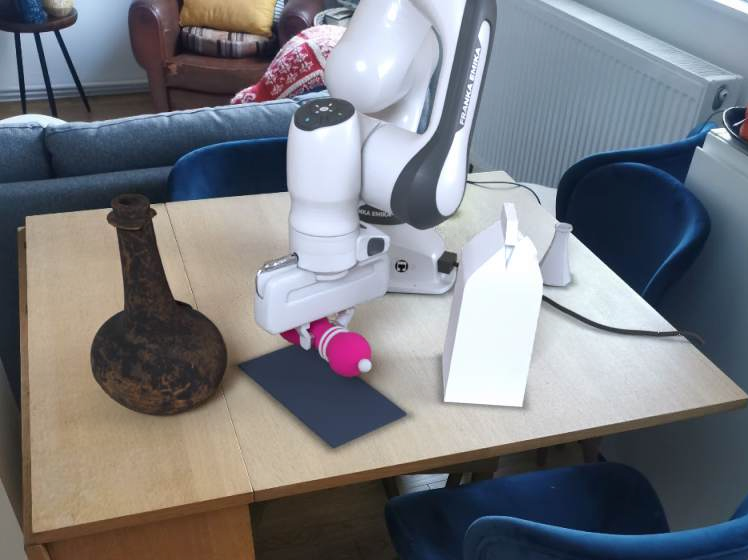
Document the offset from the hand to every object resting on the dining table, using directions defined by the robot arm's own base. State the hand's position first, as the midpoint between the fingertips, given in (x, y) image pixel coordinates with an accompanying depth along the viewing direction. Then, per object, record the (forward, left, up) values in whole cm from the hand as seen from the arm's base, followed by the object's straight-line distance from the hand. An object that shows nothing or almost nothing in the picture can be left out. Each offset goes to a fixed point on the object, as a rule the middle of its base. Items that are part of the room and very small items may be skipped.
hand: (323, 340), depth 105 cm
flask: (-32, -47, -9) cm, 58 cm away
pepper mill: (+8, -6, +1) cm, 10 cm away
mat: (+1, 0, -8) cm, 8 cm away
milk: (-22, -9, -9) cm, 26 cm away
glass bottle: (+21, +7, -9) cm, 24 cm away
